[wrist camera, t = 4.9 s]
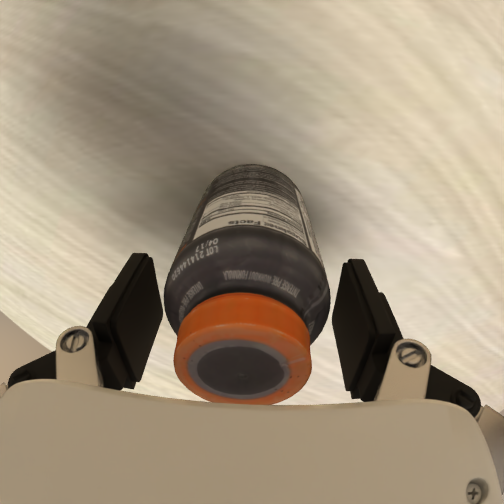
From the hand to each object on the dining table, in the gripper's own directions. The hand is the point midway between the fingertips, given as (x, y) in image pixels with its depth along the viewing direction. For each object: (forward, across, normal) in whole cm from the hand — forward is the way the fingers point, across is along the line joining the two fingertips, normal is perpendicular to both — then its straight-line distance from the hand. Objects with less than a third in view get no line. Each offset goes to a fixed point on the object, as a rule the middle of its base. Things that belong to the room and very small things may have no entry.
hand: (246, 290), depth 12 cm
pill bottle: (+7, 0, 0) cm, 7 cm away
